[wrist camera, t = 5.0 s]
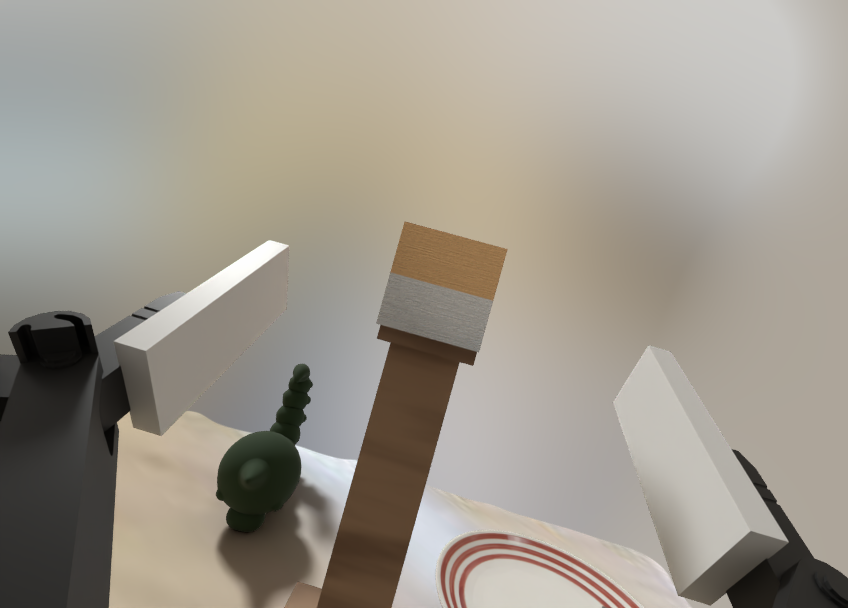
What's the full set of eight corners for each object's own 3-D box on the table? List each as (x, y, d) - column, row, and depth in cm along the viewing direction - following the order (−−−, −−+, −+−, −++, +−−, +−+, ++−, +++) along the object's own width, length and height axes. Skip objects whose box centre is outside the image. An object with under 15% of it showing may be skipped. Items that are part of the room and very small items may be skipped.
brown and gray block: (478, 352, 15) (507, 249, 15) (376, 323, 15) (404, 221, 15) (454, 327, 37) (465, 286, 37) (412, 316, 37) (424, 274, 37)
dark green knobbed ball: (245, 468, 64) (174, 554, 40) (279, 354, 66) (232, 369, 42) (303, 480, 66) (269, 571, 41) (335, 368, 68) (321, 390, 43)
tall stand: (390, 871, 22) (532, 357, 23) (190, 803, 23) (331, 300, 23) (410, 638, 38) (493, 338, 39) (292, 601, 39) (375, 305, 39)
